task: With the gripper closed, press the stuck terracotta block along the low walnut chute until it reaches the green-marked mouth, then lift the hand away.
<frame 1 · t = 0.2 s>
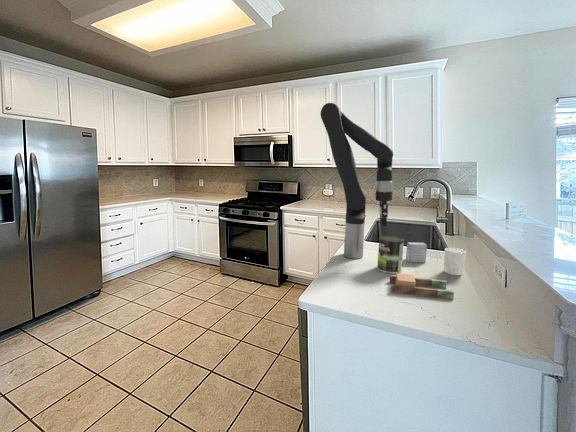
hand: (383, 224, 138), 17 cm above the worktop, tool pointing down, fingers open, 8 cm apart
white cup: (452, 273, 123), on the worktop
medicine box: (415, 261, 137), on the worktop
coffee can: (389, 269, 126), on the worktop
walnut chute: (419, 289, 106), on the worktop
terracotta block: (405, 282, 107), point 2 cm above the worktop, slide at 0.0 cm
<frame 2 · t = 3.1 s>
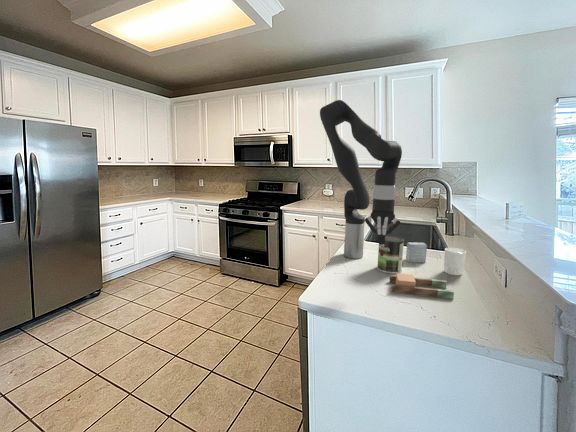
hand: (380, 243, 106), 16 cm above the worktop, tool pointing down, fingers closed
nothing on the worktop moved.
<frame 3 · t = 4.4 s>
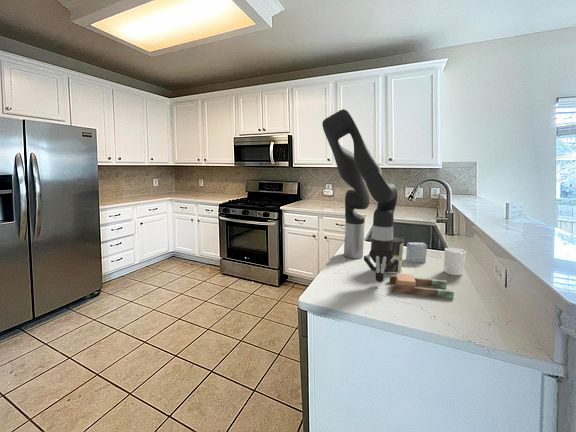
hand: (379, 281, 109), 2 cm above the worktop, tool pointing down, fingers closed
nothing on the worktop moved.
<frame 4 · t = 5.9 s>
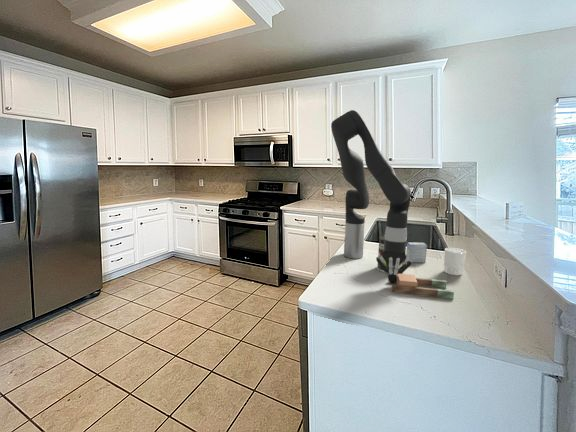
hand: (392, 283, 108), 2 cm above the worktop, tool pointing down, fingers closed
terracotta block: (406, 282, 107), point 2 cm above the worktop, slide at 0.5 cm, touching gripper
everything else where it was.
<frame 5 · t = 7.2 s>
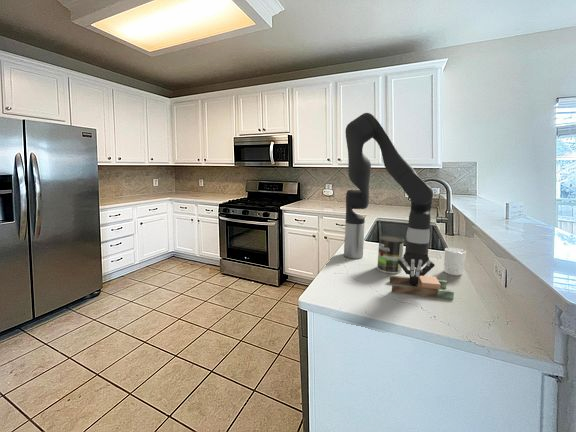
hand: (413, 285, 106), 2 cm above the worktop, tool pointing down, fingers closed
terracotta block: (428, 284, 105), point 2 cm above the worktop, slide at 8.0 cm, touching gripper
everything else where it was.
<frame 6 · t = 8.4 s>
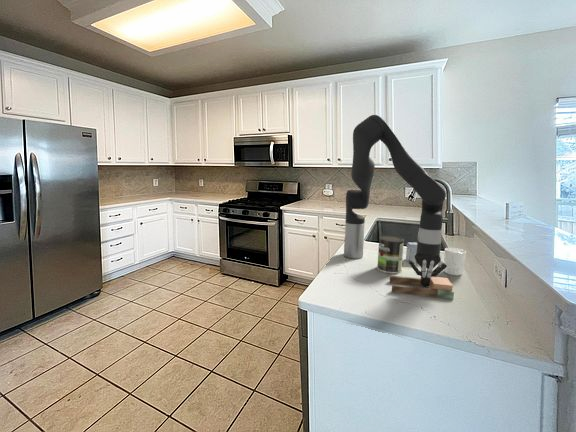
hand: (424, 286, 105), 2 cm above the worktop, tool pointing down, fingers closed
terracotta block: (440, 286, 104), point 2 cm above the worktop, slide at 11.9 cm, touching gripper
everything else where it was.
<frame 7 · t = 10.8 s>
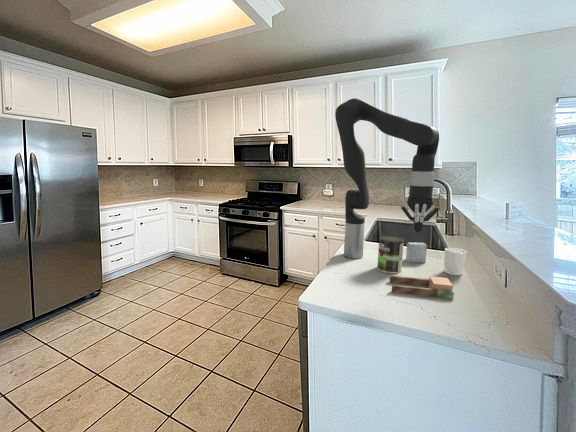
hand: (417, 232, 104), 21 cm above the worktop, tool pointing down, fingers closed
terracotta block: (440, 286, 104), point 2 cm above the worktop, slide at 11.9 cm
everything else where it was.
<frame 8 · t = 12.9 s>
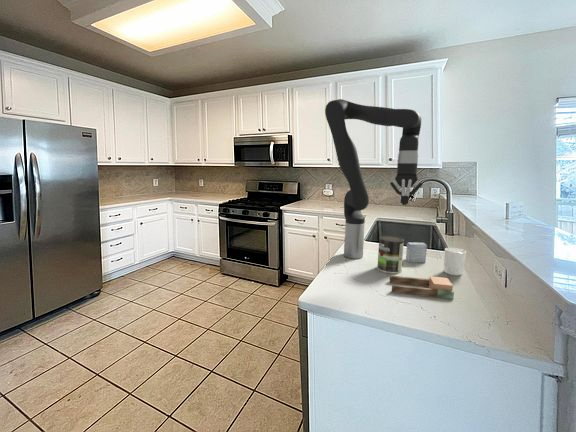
hand: (404, 204, 119), 29 cm above the worktop, tool pointing down, fingers closed
nothing on the worktop moved.
at the end: terracotta block slide at 11.9 cm; the gripper is holding nothing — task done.
